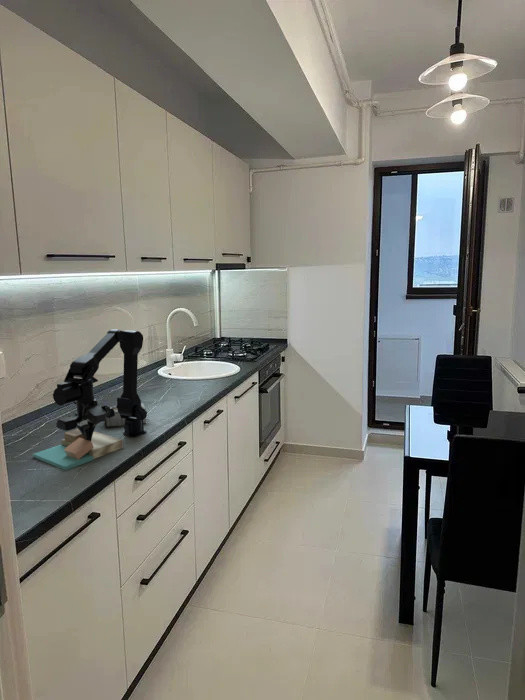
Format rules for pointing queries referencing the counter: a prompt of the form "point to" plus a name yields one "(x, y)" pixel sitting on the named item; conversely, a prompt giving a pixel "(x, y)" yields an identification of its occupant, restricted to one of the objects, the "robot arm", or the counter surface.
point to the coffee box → (118, 418)
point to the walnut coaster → (73, 435)
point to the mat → (61, 458)
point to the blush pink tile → (78, 448)
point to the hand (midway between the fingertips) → (88, 442)
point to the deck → (100, 444)
